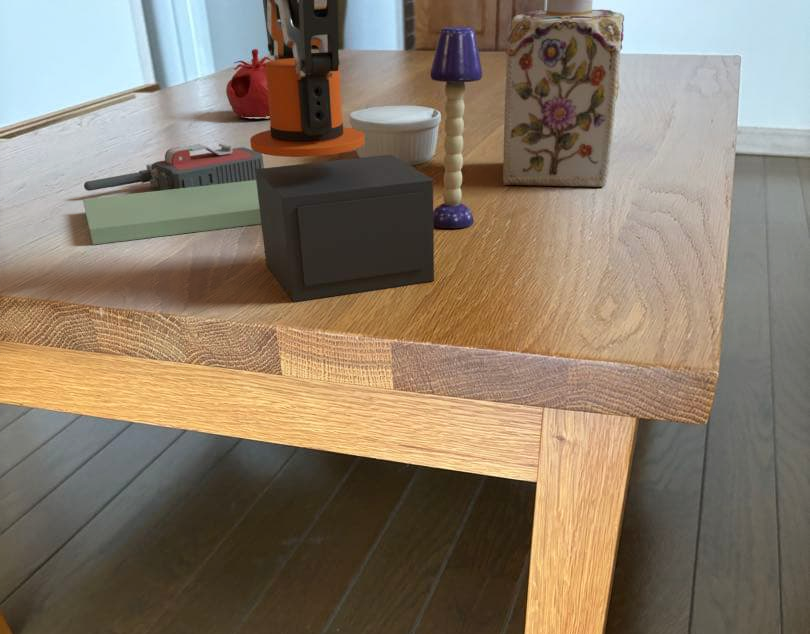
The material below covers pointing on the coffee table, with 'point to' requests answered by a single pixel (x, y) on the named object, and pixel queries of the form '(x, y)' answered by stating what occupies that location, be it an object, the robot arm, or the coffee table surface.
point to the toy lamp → (454, 116)
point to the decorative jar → (561, 95)
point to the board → (172, 211)
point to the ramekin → (398, 132)
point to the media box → (346, 225)
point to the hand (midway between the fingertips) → (306, 125)
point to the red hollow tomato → (249, 89)
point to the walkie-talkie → (191, 169)
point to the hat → (287, 120)
